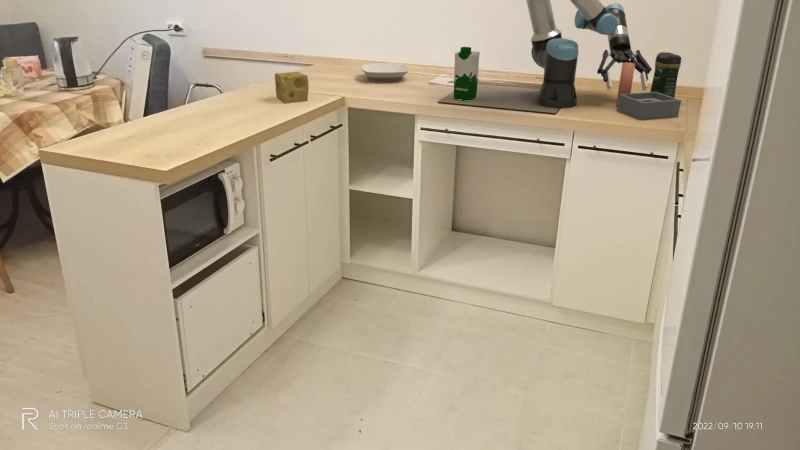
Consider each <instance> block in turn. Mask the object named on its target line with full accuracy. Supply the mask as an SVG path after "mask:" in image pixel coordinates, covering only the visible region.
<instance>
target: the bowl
mask: <svg viewBox="0 0 800 450" xmlns="http://www.w3.org/2000/svg"><path fill="white" fill-rule="evenodd" d="M360 69H361V71H362V72H363V73H364V74H365V75H366V76H367V77H368V78H369V79H370V80H371V81H372V82H375V83H393V82H394V83H395V82H399V81H401V79H402V78H403V77H404V76H406V75H407V73H408V72H410V67H409V66H408V65H407V64H406V63H401V62H400V63H395V62H388V63H387V62H383V63H382V62H381V63H380V62H378V63H364V64H362V65H361V66H360Z"/></svg>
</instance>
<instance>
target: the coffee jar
mask: <svg viewBox="0 0 800 450" xmlns="http://www.w3.org/2000/svg"><path fill="white" fill-rule="evenodd" d="M681 66H682V56H680V55H678V54H675V53H671V52H667V51H666V52H665V51H663V52H661V51H660V52H659V53H658V54H657V55H656V57H655V63H654V73H653V77H652V83H651V86H650V91H649V92H658V93H661V94H664V95H667V96H670V97H673V98H676V89H677V82H678V76H679V70H680V68H681Z"/></svg>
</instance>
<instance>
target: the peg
mask: <svg viewBox="0 0 800 450" xmlns="http://www.w3.org/2000/svg"><path fill="white" fill-rule="evenodd" d="M621 64H622V65H621V70H620V77H619V85H618V91H617V98H616V103H615V106H616V107H617V104H618V97H619V94H630V93H632V85H633V80H634V79H633V78H634V74H635V63H627V62H626V63H621Z"/></svg>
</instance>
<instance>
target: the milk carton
mask: <svg viewBox="0 0 800 450" xmlns="http://www.w3.org/2000/svg"><path fill="white" fill-rule="evenodd" d="M480 53H481V52H480V51H474V50H472V47H471V46H461V47H460V50H459V51H456V52H455V53H454V74H453V75H454V76H453V100H455V99H462V100H461V101H464V100H472V99H473V100H475V99H476V98H477V93H478V85H479V83H478V82H479V81H478V80H479V64H480ZM475 97H476V98H475ZM474 98H475V99H474ZM473 100H472V101H473Z"/></svg>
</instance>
